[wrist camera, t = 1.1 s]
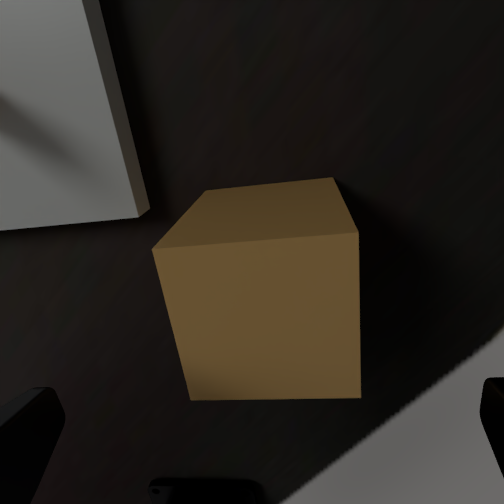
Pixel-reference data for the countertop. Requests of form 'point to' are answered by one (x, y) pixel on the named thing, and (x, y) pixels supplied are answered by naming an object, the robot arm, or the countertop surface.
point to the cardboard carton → (265, 292)
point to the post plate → (62, 119)
